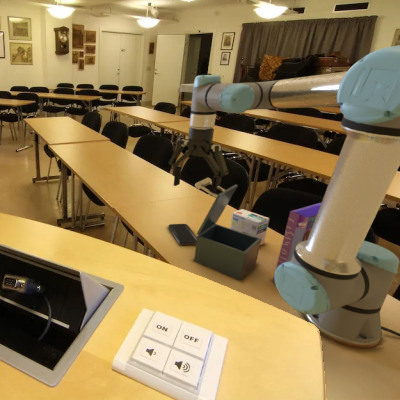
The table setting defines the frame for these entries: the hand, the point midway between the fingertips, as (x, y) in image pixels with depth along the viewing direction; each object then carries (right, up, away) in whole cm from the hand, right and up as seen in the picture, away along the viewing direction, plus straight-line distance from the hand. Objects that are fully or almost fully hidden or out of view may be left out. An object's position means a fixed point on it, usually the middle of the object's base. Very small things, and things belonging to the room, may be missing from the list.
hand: (194, 189), depth 110 cm
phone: (+2, -18, +17) cm, 25 cm away
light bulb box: (+24, -19, +12) cm, 33 cm away
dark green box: (+10, -25, -1) cm, 27 cm away
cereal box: (+30, -28, -10) cm, 42 cm away
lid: (+6, -7, -5) cm, 11 cm away
